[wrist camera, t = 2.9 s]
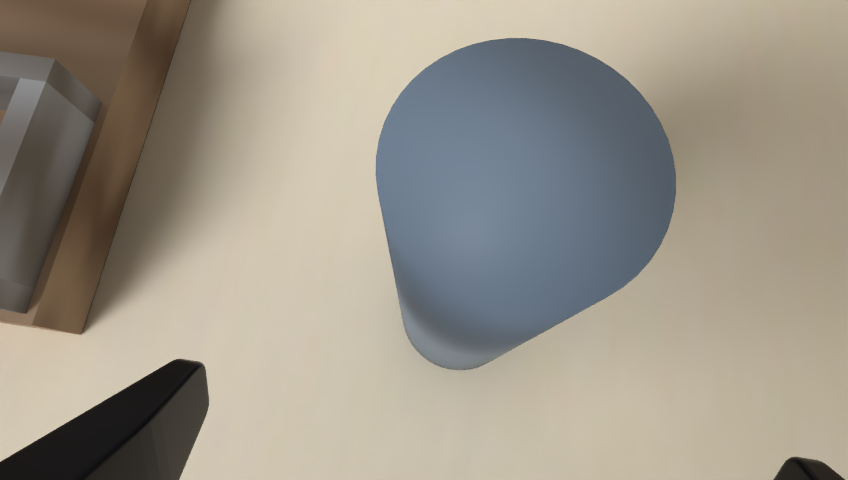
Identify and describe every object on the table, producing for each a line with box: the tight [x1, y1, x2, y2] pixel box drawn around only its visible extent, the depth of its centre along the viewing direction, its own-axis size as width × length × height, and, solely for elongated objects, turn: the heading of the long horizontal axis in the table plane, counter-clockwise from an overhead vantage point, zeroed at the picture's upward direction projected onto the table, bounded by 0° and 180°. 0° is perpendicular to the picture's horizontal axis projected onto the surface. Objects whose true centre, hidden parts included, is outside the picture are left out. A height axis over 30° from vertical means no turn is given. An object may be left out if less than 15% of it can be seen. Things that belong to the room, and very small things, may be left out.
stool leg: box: [376, 38, 676, 370], centre depth 13 cm, size 4×4×12 cm
